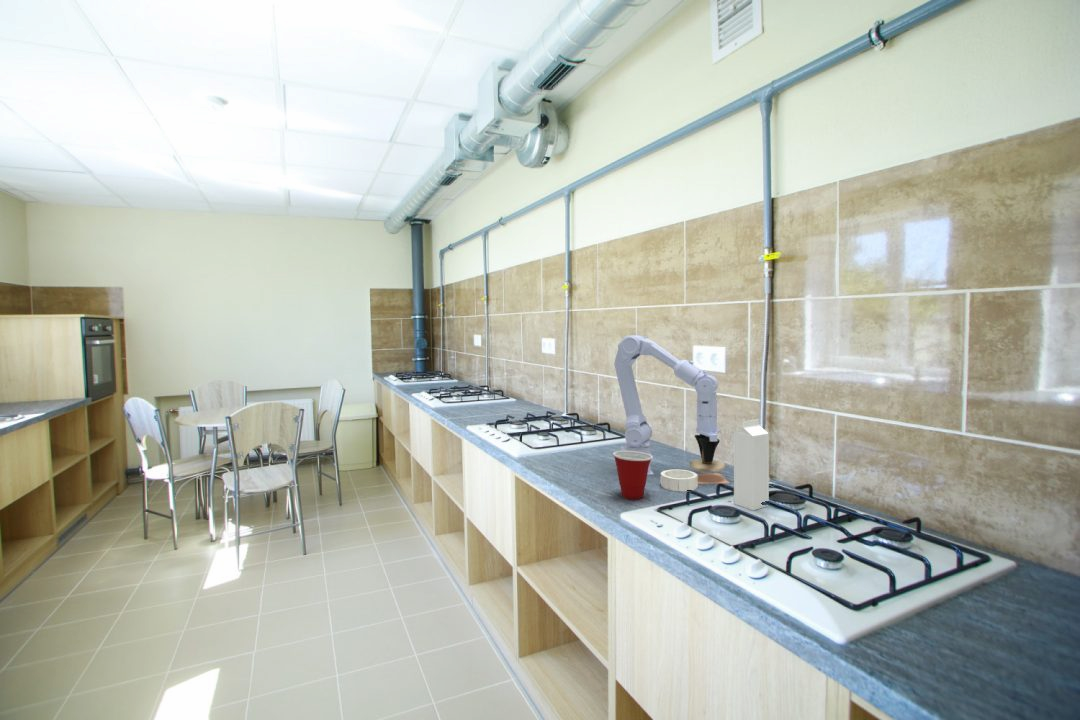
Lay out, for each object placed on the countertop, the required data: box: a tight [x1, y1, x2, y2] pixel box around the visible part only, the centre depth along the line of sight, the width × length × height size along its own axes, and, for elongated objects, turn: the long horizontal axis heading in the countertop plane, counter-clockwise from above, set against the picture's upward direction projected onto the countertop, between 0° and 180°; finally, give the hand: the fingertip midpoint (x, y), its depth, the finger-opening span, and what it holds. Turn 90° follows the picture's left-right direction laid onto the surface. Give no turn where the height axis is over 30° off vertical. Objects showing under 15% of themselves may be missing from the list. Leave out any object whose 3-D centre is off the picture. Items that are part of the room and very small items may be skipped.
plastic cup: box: [612, 450, 654, 501], centre depth 140 cm, size 11×11×12 cm
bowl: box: [660, 468, 699, 492], centre depth 147 cm, size 10×10×4 cm
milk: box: [733, 419, 770, 511], centre depth 131 cm, size 6×6×22 cm
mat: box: [696, 472, 730, 485], centre depth 153 cm, size 10×10×1 cm
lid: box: [689, 449, 726, 473], centre depth 153 cm, size 10×10×5 cm
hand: (706, 460), depth 153 cm, fingers closed on lid, 3 cm apart
